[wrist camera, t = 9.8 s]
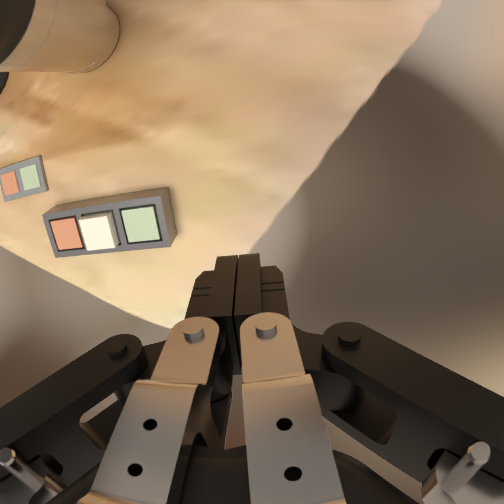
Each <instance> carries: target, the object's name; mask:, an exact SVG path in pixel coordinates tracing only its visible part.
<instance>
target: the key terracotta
mask: <svg viewBox="0 0 504 504" xmlns="http://www.w3.org/2000/svg"><path fill="white" fill-rule="evenodd" d="M50 223H51V226H52V230H53V233H54V236H55V239H56V243H57V246H58V249H59V250H63V249H72V248H81V247H83V246H84V243H83V240H82V236H81V233H80V230H79V226H78V222H77V219H76V215H74V216H68V217H62V218H56V219H53V220H52V221H51V222H50Z"/></svg>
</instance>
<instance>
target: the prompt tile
mask: <svg viewBox="0 0 504 504" xmlns="http://www.w3.org/2000/svg"><path fill="white" fill-rule="evenodd" d="M0 185H1V190H2V193H3V197H4V201H5V202H6V201H10V200H14V199H17V198H21V197H25V196H29V195H33V194H37V193H42V192H46V191H48V186H47V181H46V177H45V172H44V168H43V163H42V158H41V155H40V156H37V157H34V158H31V159H28V160H25V161H22V162H19V163H16V164H13V165H10V166H7V167H4V168H1V169H0Z"/></svg>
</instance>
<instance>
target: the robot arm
mask: <svg viewBox="0 0 504 504" xmlns="http://www.w3.org/2000/svg"><path fill="white" fill-rule="evenodd" d="M119 32H120V29H119V22H118V19H117V16H116V15H115V13H114V12H113V11H112V10H110V9H109V8H108V7H107V0H0V72H22V71H35V72H65V73H84V72H89V71H91V70H93V69H96V68H97V67H98V66H100V65H101V64H103V63H104V62H105V61H106V60H107V59H108V58H109V56H110V55H111V54H112V52H113V50H114V48H115V47H116V44H117V41H118V38H119ZM242 368H243V383H242V395H243V407H244V408H243V409H244V423H245V436H246V445H244V446H240V447H236V448H231V449H227V450H225V440H226V433H227V427H228V421H229V415H230V408H231V402H232V394H233V393H232V389H231V387H232V380H233V375H240V374H241V371H242ZM112 393H115V395H116V397H117V398H118V400H117V401H116V402H114V403H113V404H112V405H110V406H109V407H108V408H106V409H105V410H103V411H102V412H100V413H99V414H98V415H96V416H95V417H93V418H92V419H90V420H89V421H87V422H85V423H79V421H80V418H81V416H82V415H83V414H84V413H85V412H86V411H88V410H89V409H91V408H92V407H94V406H95V405H96V404H98V403H99V402H101V401H102V400H104V399H105V398H106V397H108V396H109V395H111V394H112ZM323 416H324V417H325V418H326V419H327V420H329V421H330V422H332V423H333V424H334V425H336V426H337V427H338V428H340V429H341V430H343V431H344V432H345V433H347V434H348V435H350V436H351V437H352V438H354V439H355V440H357V441H358V442H360V443H361V444H362V445H364V446H365V447H367V448H368V449H370V450H371V451H373V452H374V453H376V454H377V455H378V456H380V457H382V458H383V459H385V460H386V461H388V462H389V463H391V464H392V465H394V466H395V467H397V468H399V469H400V470H401V471H403V472H405V473H406V474H408V475H409V476H411V477H412V478H414V479H416V480H417V481H419V482H421V483H422V485H421V496H422V499H423V501H424V503H425V504H504V397H502V396H500V395H498V394H496V393H494V392H493V391H491V390H488V389H486V388H484V387H482V386H481V385H479V384H477V383H475V382H473V381H471V380H469V379H467V378H465V377H463V376H461V375H459V374H457V373H455V372H453V371H451V370H449V369H447V368H445V367H444V366H442V365H440V364H438V363H436V362H434V361H432V360H430V359H428V358H426V357H424V356H422V355H420V354H418V353H416V352H414V351H413V350H411V349H409V348H407V347H405V346H403V345H401V344H399V343H397V342H395V341H393V340H391V339H390V338H388V337H386V336H384V335H382V334H380V333H378V332H376V331H374V330H372V329H370V328H369V327H367V326H365V325H362V324H360V323H355V322H341V323H337V324H334V325H332V326H331V327H329V328H328V329H327V330H326V331H325V332H324V334H323V335H320V334H312V333H308V332H304V331H302V330H299V329H298V328H296V327H295V326H294V325H293V324H292V323H291V321H290V318H289V313H288V306H287V299H286V293H285V286H284V280H283V273H282V272H281V271H280V270H279V269H278V268H277V267H276V266H265V267H261V265H260V255H259V253H256V254H244V255H239V258H238V255H232V256H220V257H217V260H216V264H215V269H214V271H203V272H202V273H201V274H200V275H199V276H198V277H197V278H196V280H195V283H194V287H193V290H192V294H191V297H190V301H189V305H188V308H187V312H186V315H185V319H184V320H182V321H180V322H178V323H177V324H176V325H175V326H173V328H172V329H171V331H170V333H169V335H168V338H167V340H165V341H162V342H159V343H154V344H150V345H146V346H142V343H141V341H140V340H139V338H137V337H136V336H134V335H130V334H120V335H116V336H113V337H110V338H108V339H107V340H105V341H104V342H102V343H101V344H99V345H97V346H96V347H94V348H93V349H91V350H89V351H88V352H86V353H85V354H83V355H82V356H80V357H79V358H77V359H75V360H74V361H72V362H71V363H69V364H68V365H66V366H65V367H63V368H61V369H60V370H58V371H57V372H55V373H54V374H52V375H51V376H49V377H47V378H46V379H44V380H43V381H41V382H40V383H38V384H37V385H35V386H34V387H32V388H30V389H29V390H27V391H26V392H24V393H23V394H21V395H19V396H18V397H16V398H15V399H13V400H12V401H10V402H9V403H7V404H6V405H4V406H2V407H1V408H0V504H419V503H417V502H416V501H415V500H413V499H412V498H410V497H409V496H407V495H406V494H404V493H403V492H402V491H400V490H399V489H397V488H396V487H395V486H393V485H392V484H390V483H389V482H388V481H386V480H385V479H383V478H382V477H381V476H379V475H378V474H377V473H375V472H374V471H373V470H371V469H370V468H369V467H367V466H366V465H364V464H363V463H362V462H360V461H359V460H357V459H355V458H353V457H351V456H349V455H346V454H344V453H342V452H338V451H335V450H332V448H331V445H330V441H329V438H328V434H327V430H326V426H325V423H324V419H323Z"/></svg>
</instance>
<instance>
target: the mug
mask: <svg viewBox="0 0 504 504" xmlns="http://www.w3.org/2000/svg"><path fill="white" fill-rule="evenodd" d="M8 75H9V72H0V94H1V93H2V91H3V89H4V87H5V85H6V82H7V79H8Z"/></svg>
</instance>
